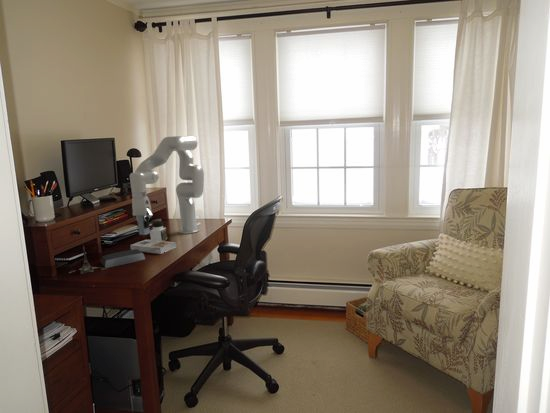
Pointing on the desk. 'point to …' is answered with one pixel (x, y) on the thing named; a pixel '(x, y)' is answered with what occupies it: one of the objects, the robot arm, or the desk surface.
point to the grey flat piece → (153, 246)
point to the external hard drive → (122, 258)
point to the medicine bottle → (158, 231)
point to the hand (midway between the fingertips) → (143, 227)
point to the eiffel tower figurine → (87, 266)
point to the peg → (142, 226)
